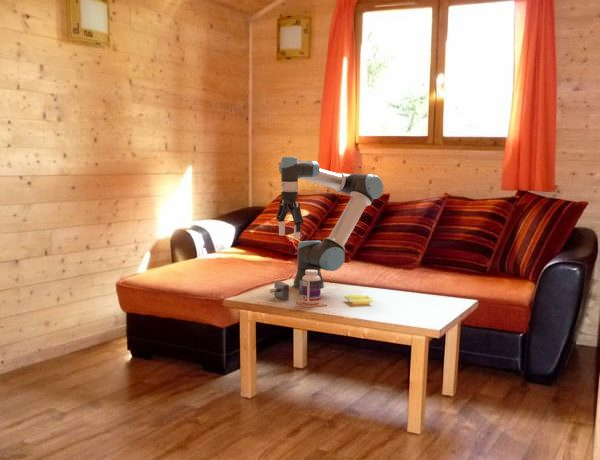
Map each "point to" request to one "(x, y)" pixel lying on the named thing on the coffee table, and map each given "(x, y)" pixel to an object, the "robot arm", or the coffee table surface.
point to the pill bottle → (311, 287)
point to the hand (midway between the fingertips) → (289, 237)
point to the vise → (283, 290)
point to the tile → (311, 304)
